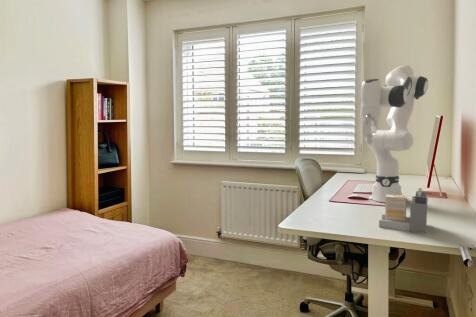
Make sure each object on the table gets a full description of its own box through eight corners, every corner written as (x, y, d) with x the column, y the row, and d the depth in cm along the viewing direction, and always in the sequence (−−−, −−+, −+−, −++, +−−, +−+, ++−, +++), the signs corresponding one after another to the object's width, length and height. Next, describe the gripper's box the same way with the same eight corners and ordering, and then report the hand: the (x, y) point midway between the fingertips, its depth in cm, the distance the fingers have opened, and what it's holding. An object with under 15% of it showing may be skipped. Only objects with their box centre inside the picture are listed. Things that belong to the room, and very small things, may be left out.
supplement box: (406, 225, 162) (407, 195, 161) (405, 228, 158) (406, 197, 156) (385, 222, 166) (386, 193, 164) (384, 225, 162) (385, 196, 160)
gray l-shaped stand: (382, 219, 171) (383, 184, 169) (426, 224, 163) (428, 188, 161) (378, 227, 159) (379, 190, 157) (425, 233, 150) (427, 194, 148)
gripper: (374, 114, 163) (373, 145, 165) (380, 114, 181) (379, 142, 183) (359, 114, 166) (358, 145, 168) (366, 114, 184) (365, 142, 186)
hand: (369, 143), depth 176 cm, fingers closed
